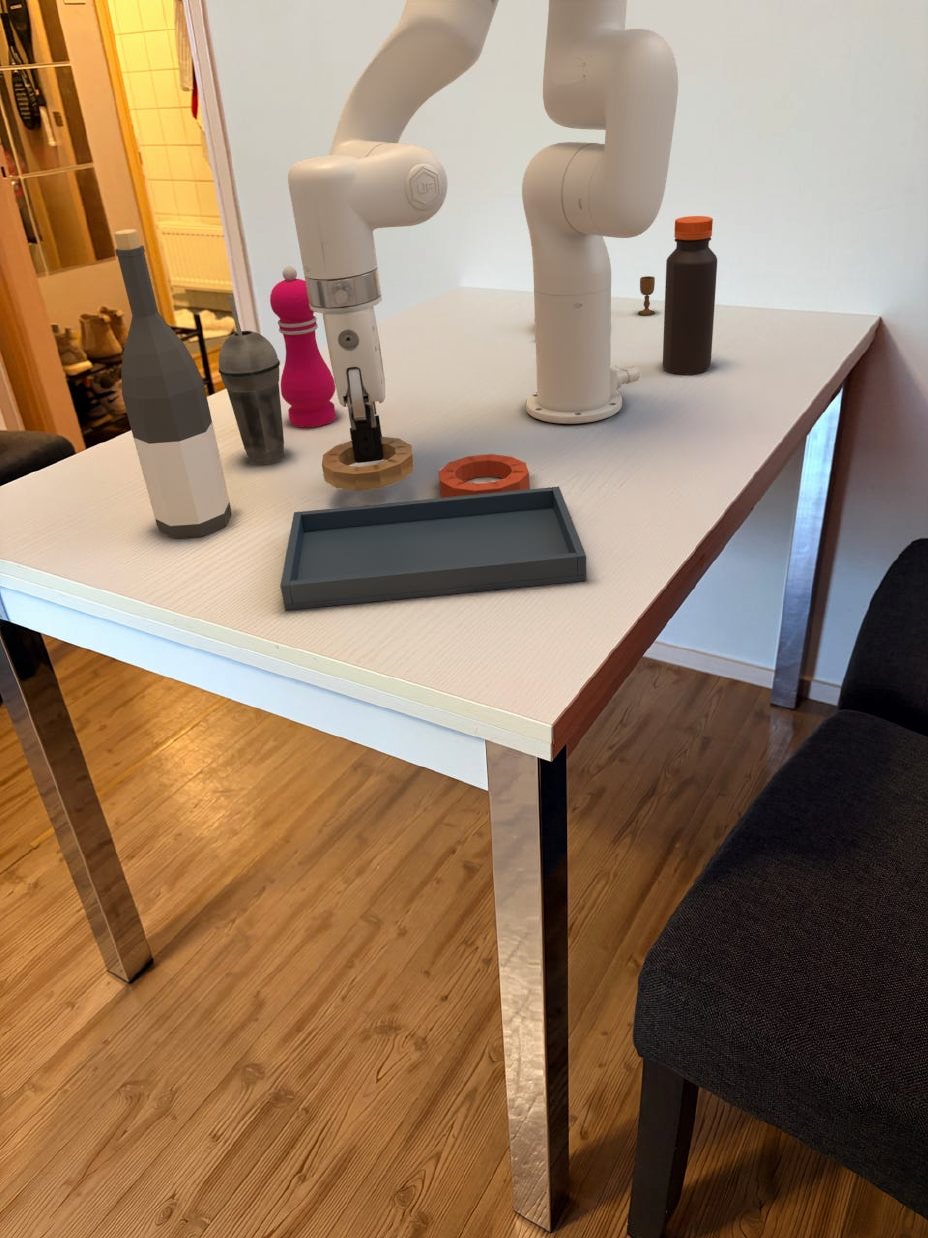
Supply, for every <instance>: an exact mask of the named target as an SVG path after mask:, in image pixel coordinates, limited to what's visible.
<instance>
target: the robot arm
mask: <svg viewBox="0 0 928 1238" xmlns="http://www.w3.org/2000/svg"><path fill="white" fill-rule="evenodd" d="M499 1H500V0H406V1H405V4H404V7H403V10H402V13H401V15H400V17H399V19H398V22H397V24H396V25H395V27H394V29H393V30H392V31H391V33H390V34H389V35H388V36H387V37H386V38H385V40H384V41H383V43H382V44H381V45H380V47H379V49H378V50H377V51H376V53H375V54H374V56H373V57H372V59H371V60H370V61H369V63H368V65H366V67H365V69H364V70H363V71H362V73H361V75H360V76H359V77H358V79H357V80H356V81H355V84H354V85H353V87H352V88H351V91H350V93H349V95H348V97H347V99H346V100H345V104H344V106H343V109H342V111H341V114H340V117H339V120H338V123H337V127H336V130H335V133H334V136H333V139H332V142H331V146H330V150H329V154H328V155H322V156H314V157H310V158H306V159H302V160H298V161H297V162H295V163H293V164H292V166H290V169H289V170H288V175H287V182H288V183H287V184H288V189H289V196H290V201H291V207H292V214H293V218H294V225H295V231H296V236H297V242H298V247H299V248H298V249H299V253H300V258H301V265H302V271H303V275H304V281H305V282H306V288H307V293H308V299H309V305H310V309H311V310H312V311H314V313H318V314H322V321H323V326H324V331H325V337H326V338H325V339H326V344H327V350H328V354H329V360H330V365H331V370H332V371H331V372H332V376H333V379H334V383H335V391H336V394H337V398H338V403H339V404H340V405H341V406H342V407H343V408H346V407H347V411H348V418H349V424H350V427H349V433H350V439H351V440H350V441H352V446H353V452H354V458H355V462H357V463H356V464H361V463H362V464H363V463H371V462H381V461H383V460H382V459H383V450H382V443H381V437H383V433H382V426H381V421H380V415H379V414H377V413H378V412H377V405H376V402H378V403H379V404H383V402H384V401H385V400H386V377H385V371H384V365H383V357H382V350H381V343H380V337H379V330H378V323H377V316H376V313H375V308H374V306H376V305H378V304H380V303H381V302H382V301H383V295H382V291H381V282H380V275H379V268H378V259H377V252H376V245H375V238H374V237H375V236H374V231H375V230H377V229H384V228H400V227H411V226H417V225H420V224H423V223H425V222H427V221H428V220H430V219H431V218H433V217H434V216H435V215H436V214H437V213H438V212H439V211H440V210H441V208H442V207H443V205H444V203H445V200H446V197H447V193H448V177H447V173H446V169H445V167H444V165H443V163H442V162H441V161H440V159H439V158H438V157H437V156H436V155H435V154H434V153H433V152H431V151H430V150H428V149H426V148H424V147H422V146H419V145H416V144H411V143H399V141H400V139H401V137H402V134H403V133H404V131H405V129H406V127H407V125H408V124H409V122H410V121H411V119H412V118H413V117H414V115H415V114H416V112H417V111H418V110H419V109H420V108H421V107H422V106H423V105H424V104H425V103H426V102H427V101H428V100H429V99H430V98H432V97H433V96H434V95H436V94H437V93H439V92H440V91H441V90H443V89H444V88H446V87H447V86H449V85H450V84H452V83H454V81H456V80H458V78H459V79H460V77H462V76H463V75H464V74H465V73H466V72H467V71H469V70H470V69H471V68H472V67H473V66H474V65H476V63H477V62H478V60H479V59H480V56H481V54H482V53H483V49H484V46H485V43H486V39H487V36H488V33H489V31H490V28H491V24H492V22H493V19H494V15H495V13H496V11H497V10H496V9H497V7H498V4H499ZM627 3H628V0H548V11H547V12H548V14H547V23H546V24H547V26H546V38H545V50H544V64H543V75H542V76H543V78H542V99H543V101H542V102H543V107H544V110H545V112H546V115H547V116H548V118H549V119H550V120H551V121H552V122H553V123H555V124H556V125H559V126H561V127H564V128H569V129H575V130H593V131H594V130H595V131H605V136H604V143H598V142H582V141H581V142H579V141H567V142H565V141H564V142H557V143H553V144H551V145H548V146H546V147H543V148H542V149H540V150H539V151H538V152H537V153H536V154H534V156H533V157H532V158H531V159H530V161H529V162H528V164H527V166H526V168H525V170H524V174H523V178H522V183H521V195H522V196H521V199H522V205H523V211H524V215H525V219H526V225H527V229H528V234H529V239H530V247H531V256H532V272H533V274H532V275H533V304H534V306H533V307H534V334H535V335H534V336H535V362H536V363H535V365H536V367H535V369H536V390H537V391H535V392H534V393H532V394H530V395H529V396H528V397H527V399H526V400H525V410H526V411H525V412H526V413H527V414H528V415H530V416H531V417H532V418H534V419H537V420H539V421H542V422H546V423H553V424H562V425H563V424H564V425H566V424H567V425H571V424H573V425H574V424H587V423H593V422H597V421H598V422H599V421H602V420H605V419H608V418H610V417H612V416H614V415H616V414H617V413H619V412H620V410H621V409H622V407H623V397H622V396H621V394H620V393H619V392H618V389H621V387H622V385H628V384H631V383H635V382H638V381H639V380H640V377H641V373H640V370H639V368H638V367H636V366H632V367H628V368H625V369H622V370H620V368H619V367H618V366H613V367H611V348H612V347H611V345H612V344H611V341H612V340H611V339H612V338H611V337H612V336H611V335H612V331H611V329H612V326H611V325H612V266H611V265H612V264H611V259H610V254H609V251H608V250H609V249H608V247H607V244H606V242H605V238H604V237H606V238H616V239H631V238H635V237H638V236H639V235H641V234H644V233H645V232H646V231H647V230H648V229H649V228H650V227H651V226H652V225H653V223H654V222H655V220H656V219H657V217H658V214H659V212H660V210H661V207H662V204H663V200H664V195H665V191H666V185H667V178H668V172H669V165H670V157H671V152H672V151H671V149H672V143H673V135H674V128H675V121H676V112H677V105H678V97H679V96H678V95H679V73H678V66H677V61H676V58H675V55H674V52H673V50H672V48H671V46H670V45H669V43H668V42H667V40H666V39H665V38H664V37H663V36H661V35H660V34H659V33H657V32H655V31H653V30H650V29H644V28H627V29H626V21H627V18H626V17H627V6H628V5H627Z"/></svg>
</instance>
